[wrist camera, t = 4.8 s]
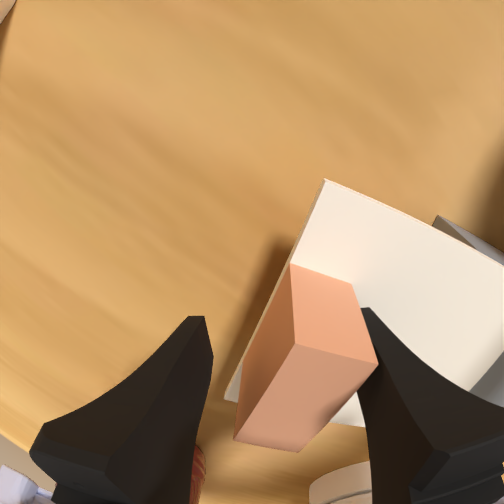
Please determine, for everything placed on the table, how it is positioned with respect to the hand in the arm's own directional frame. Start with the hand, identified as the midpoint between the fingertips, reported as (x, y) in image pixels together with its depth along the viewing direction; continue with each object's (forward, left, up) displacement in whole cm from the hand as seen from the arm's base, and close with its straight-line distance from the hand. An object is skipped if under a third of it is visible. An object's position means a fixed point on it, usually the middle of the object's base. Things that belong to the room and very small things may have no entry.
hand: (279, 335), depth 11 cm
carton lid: (-4, +4, -1) cm, 6 cm away
